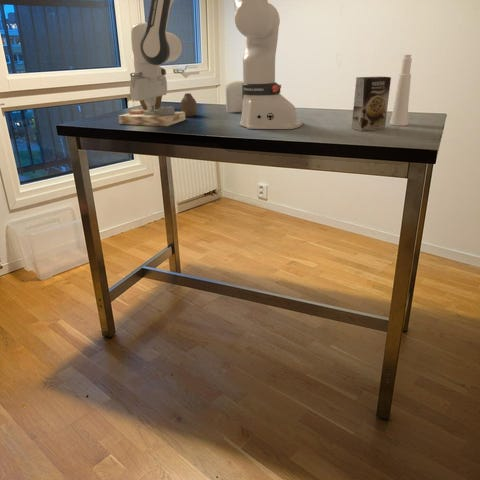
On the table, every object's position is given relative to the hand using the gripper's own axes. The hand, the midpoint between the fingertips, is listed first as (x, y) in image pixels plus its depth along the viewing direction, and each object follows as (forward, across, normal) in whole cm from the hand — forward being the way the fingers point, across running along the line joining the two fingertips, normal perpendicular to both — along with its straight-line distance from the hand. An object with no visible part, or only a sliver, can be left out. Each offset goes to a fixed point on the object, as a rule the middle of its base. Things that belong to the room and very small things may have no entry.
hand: (151, 110), depth 163 cm
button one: (+3, 0, +6) cm, 7 cm away
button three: (+3, 0, 0) cm, 3 cm away
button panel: (+4, 0, 0) cm, 4 cm away
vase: (+4, +16, -8) cm, 18 cm away
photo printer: (+4, +30, -24) cm, 38 cm away
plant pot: (+5, +29, +19) cm, 35 cm away
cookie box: (+4, +5, -81) cm, 81 cm away
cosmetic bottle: (+4, +15, -90) cm, 91 cm away
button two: (+2, 0, -7) cm, 7 cm away
